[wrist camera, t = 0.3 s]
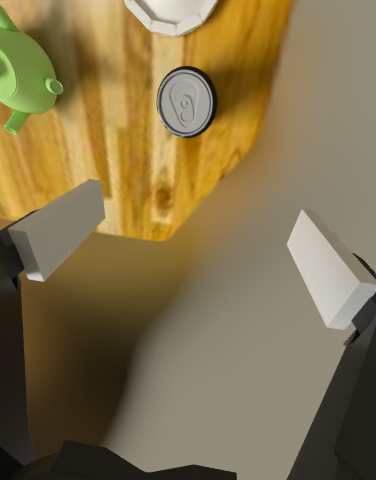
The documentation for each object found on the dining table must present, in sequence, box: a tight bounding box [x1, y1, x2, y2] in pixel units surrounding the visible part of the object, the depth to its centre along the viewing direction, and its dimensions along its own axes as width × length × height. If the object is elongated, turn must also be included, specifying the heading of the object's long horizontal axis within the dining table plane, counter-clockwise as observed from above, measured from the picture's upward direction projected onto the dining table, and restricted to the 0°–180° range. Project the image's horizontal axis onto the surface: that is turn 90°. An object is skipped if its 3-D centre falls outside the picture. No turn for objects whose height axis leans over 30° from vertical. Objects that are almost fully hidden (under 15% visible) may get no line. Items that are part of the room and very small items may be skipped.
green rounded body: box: [0, 5, 63, 135], centre depth 29 cm, size 11×12×8 cm
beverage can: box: [157, 66, 217, 138], centre depth 27 cm, size 7×7×12 cm
